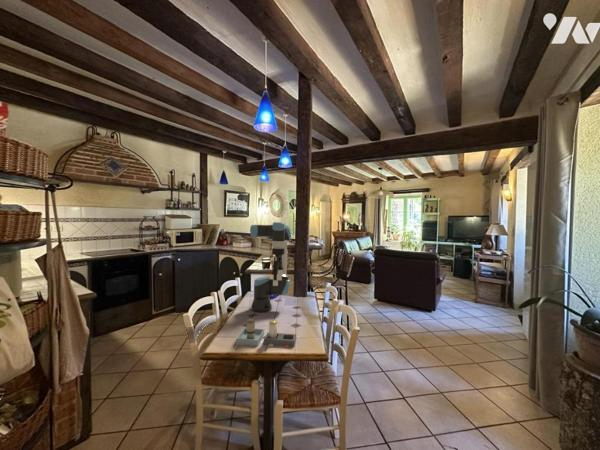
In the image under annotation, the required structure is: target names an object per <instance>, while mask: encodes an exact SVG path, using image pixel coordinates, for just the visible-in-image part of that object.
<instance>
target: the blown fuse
mask: <svg viewBox="0 0 600 450" xmlns="http://www.w3.org/2000/svg"><path fill="white" fill-rule="evenodd" d="M246 328H247V339H255V329H256V319H254V318H250V319H246Z"/></svg>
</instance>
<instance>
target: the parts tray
mask: <svg viewBox="0 0 600 450" xmlns="http://www.w3.org/2000/svg"><path fill="white" fill-rule="evenodd" d="M264 335H265V328H255V339H247V327H244V328H243V329H242V330H241V331H240V333H239V334H238V335H237V337H236V338H235V345H240V346H253V347H255V346H256V347H259V344H260V343H261V341H262V339H263V337H264Z"/></svg>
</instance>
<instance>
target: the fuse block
mask: <svg viewBox="0 0 600 450" xmlns="http://www.w3.org/2000/svg"><path fill="white" fill-rule="evenodd" d="M296 342H297V334H296V333H283V332H282V333H281V332H280V333H279V332H277V339H274V338H269V331H268V332H267V333H266V334H265V337H264V339H263V346H264V345H266V346H267V345H268V347H274V346H280V347H284V348H290V347H296Z"/></svg>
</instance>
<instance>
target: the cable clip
mask: <svg viewBox="0 0 600 450" xmlns="http://www.w3.org/2000/svg"><path fill="white" fill-rule="evenodd" d="M277 296H278V297H279V296H280V295H270V300H271V299H272V300H274V299H277V298H278V297H277Z"/></svg>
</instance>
